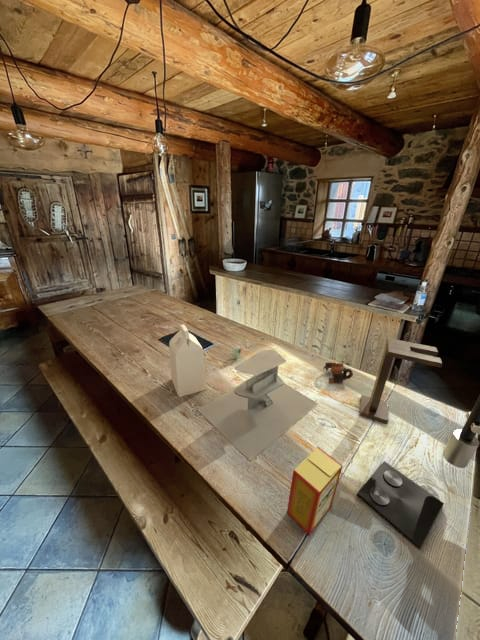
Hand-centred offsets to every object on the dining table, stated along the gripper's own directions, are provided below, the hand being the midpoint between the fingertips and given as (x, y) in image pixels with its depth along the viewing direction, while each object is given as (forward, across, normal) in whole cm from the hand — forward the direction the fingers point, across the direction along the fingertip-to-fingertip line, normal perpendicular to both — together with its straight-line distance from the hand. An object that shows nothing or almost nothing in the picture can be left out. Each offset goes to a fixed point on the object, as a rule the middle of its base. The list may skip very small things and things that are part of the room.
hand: (469, 421), depth 65 cm
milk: (+86, +3, -21) cm, 89 cm away
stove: (+11, -12, -21) cm, 27 cm away
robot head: (+77, +29, -21) cm, 85 cm away
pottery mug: (+32, +34, -21) cm, 51 cm away
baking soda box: (+31, -24, -22) cm, 45 cm away
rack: (+13, +20, -21) cm, 32 cm away
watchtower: (+56, +4, -21) cm, 60 cm away
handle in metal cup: (-1, 0, -13) cm, 13 cm away
